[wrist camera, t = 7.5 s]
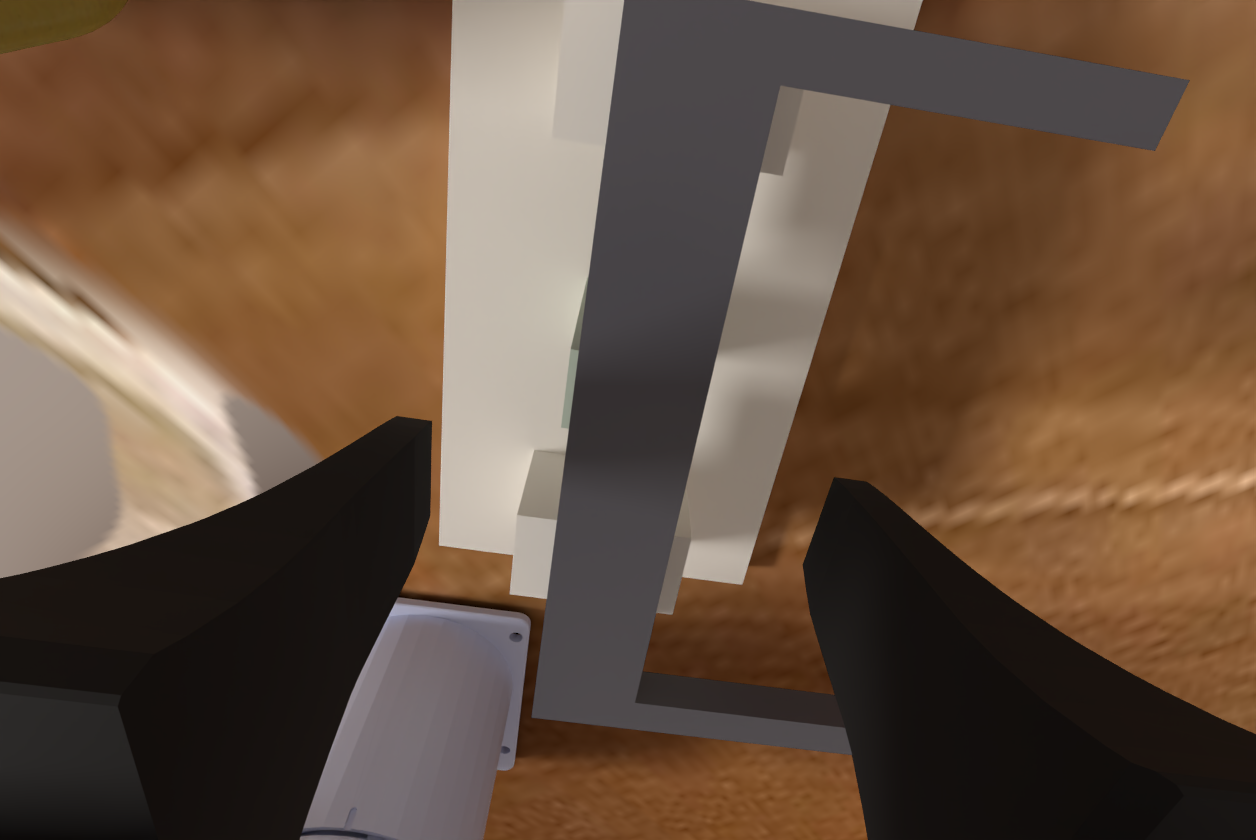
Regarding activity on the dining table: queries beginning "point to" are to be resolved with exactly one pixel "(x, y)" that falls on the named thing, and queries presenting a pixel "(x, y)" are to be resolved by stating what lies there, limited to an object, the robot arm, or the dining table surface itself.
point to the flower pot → (51, 20)
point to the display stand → (559, 268)
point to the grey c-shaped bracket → (698, 302)
